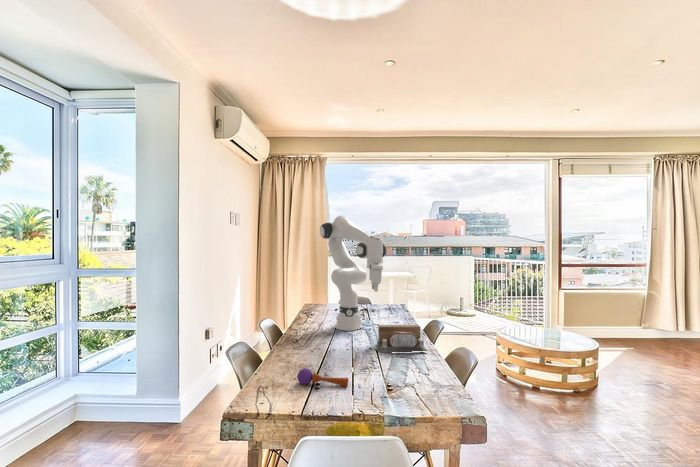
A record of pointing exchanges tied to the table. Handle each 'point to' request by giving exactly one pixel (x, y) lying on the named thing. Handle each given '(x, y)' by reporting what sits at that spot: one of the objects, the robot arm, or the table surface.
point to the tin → (402, 339)
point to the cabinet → (388, 329)
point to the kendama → (318, 378)
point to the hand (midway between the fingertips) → (374, 290)
